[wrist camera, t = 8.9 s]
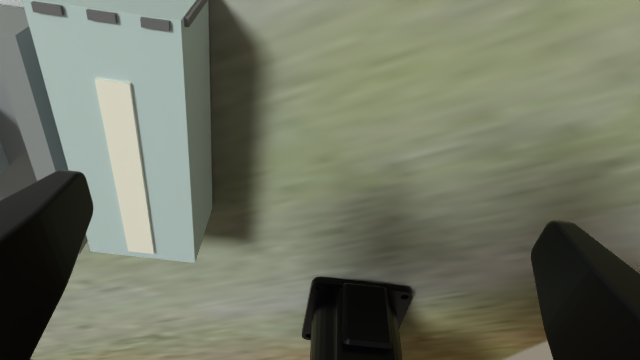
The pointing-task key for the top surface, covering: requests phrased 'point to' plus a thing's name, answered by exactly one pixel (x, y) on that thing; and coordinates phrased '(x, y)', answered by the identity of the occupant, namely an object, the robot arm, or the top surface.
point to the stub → (3, 160)
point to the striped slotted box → (133, 116)
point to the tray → (25, 109)
